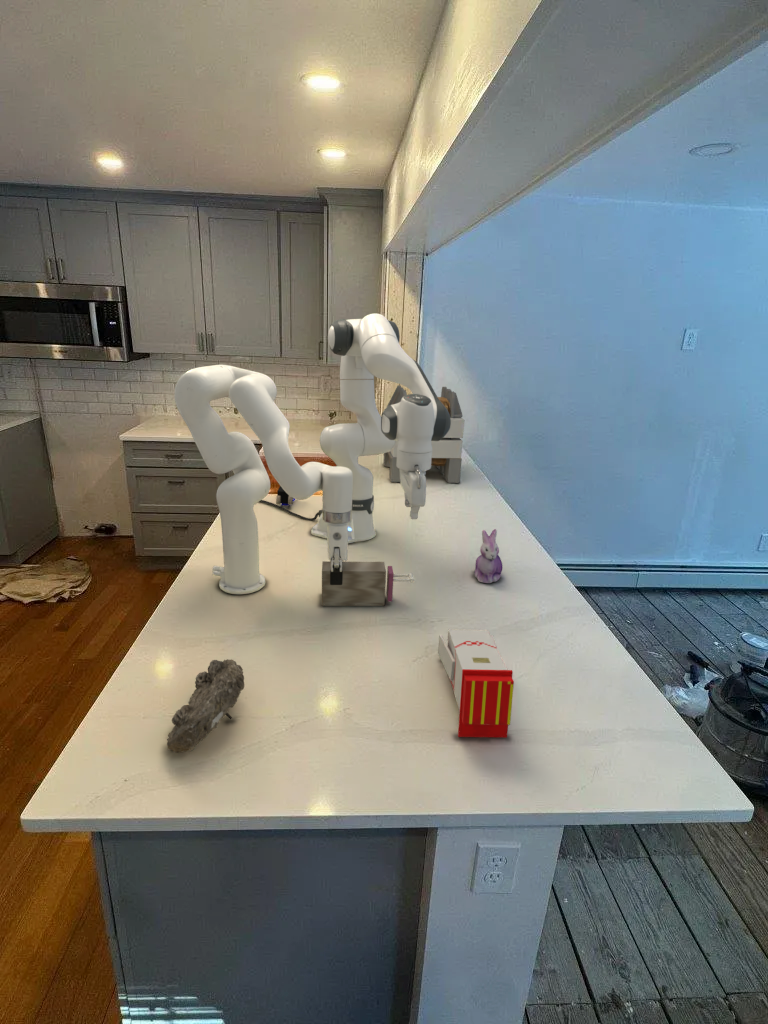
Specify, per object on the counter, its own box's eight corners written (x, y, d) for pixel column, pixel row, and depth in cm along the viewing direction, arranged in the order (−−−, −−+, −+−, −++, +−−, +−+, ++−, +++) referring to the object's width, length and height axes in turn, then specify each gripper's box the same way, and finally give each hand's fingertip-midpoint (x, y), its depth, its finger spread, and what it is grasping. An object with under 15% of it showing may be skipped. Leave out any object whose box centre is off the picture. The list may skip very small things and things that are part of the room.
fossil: (192, 660, 117) (244, 628, 112) (224, 691, 120) (276, 661, 115) (142, 746, 98) (202, 712, 93) (182, 779, 101) (242, 748, 96)
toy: (488, 613, 130) (523, 677, 101) (484, 667, 133) (517, 744, 104) (435, 612, 130) (455, 676, 101) (432, 666, 133) (451, 743, 103)
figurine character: (293, 513, 218) (297, 497, 231) (292, 495, 215) (297, 480, 228) (275, 513, 218) (281, 496, 231) (274, 495, 214) (280, 479, 228)
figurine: (485, 587, 164) (491, 539, 159) (465, 572, 172) (469, 526, 167) (511, 581, 168) (517, 534, 163) (490, 567, 176) (495, 522, 171)
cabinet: (382, 595, 157) (384, 561, 153) (384, 605, 151) (386, 571, 148) (322, 595, 155) (322, 561, 152) (321, 605, 150) (321, 571, 146)
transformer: (382, 463, 289) (386, 382, 275) (445, 464, 293) (451, 384, 279) (390, 482, 257) (394, 392, 243) (460, 483, 261) (468, 394, 247)
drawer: (411, 593, 157) (412, 565, 154) (413, 601, 152) (415, 573, 149) (334, 593, 155) (334, 565, 152) (334, 601, 150) (334, 573, 148)
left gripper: (352, 527, 137) (351, 594, 143) (351, 504, 153) (349, 564, 159) (321, 527, 136) (321, 594, 142) (323, 503, 152) (322, 564, 158)
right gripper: (433, 471, 134) (430, 526, 139) (419, 451, 153) (416, 500, 158) (407, 471, 133) (404, 526, 138) (396, 451, 152) (394, 500, 157)
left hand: (336, 578), depth 151 cm, fingers closed on cabinet, 6 cm apart
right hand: (411, 512), depth 148 cm, fingers open, 8 cm apart
